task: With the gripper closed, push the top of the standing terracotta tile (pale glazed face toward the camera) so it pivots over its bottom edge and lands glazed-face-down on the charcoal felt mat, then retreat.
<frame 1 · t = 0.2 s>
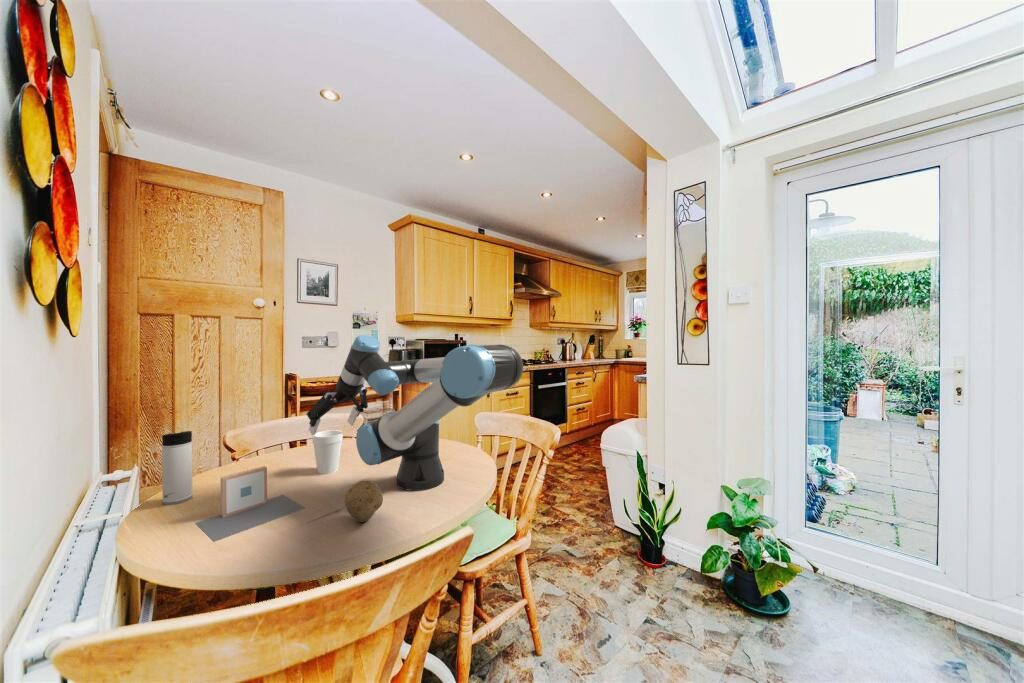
hand: (331, 427, 123), 16 cm above the table, tool tilted 35°, fingers open, 13 cm apart
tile: (244, 509, 97), resting on felt mat
felt mat: (253, 516, 94), on the table
foam cup: (328, 471, 126), on the table
travel mug: (178, 502, 103), on the table
natural sponge: (364, 520, 93), on the table
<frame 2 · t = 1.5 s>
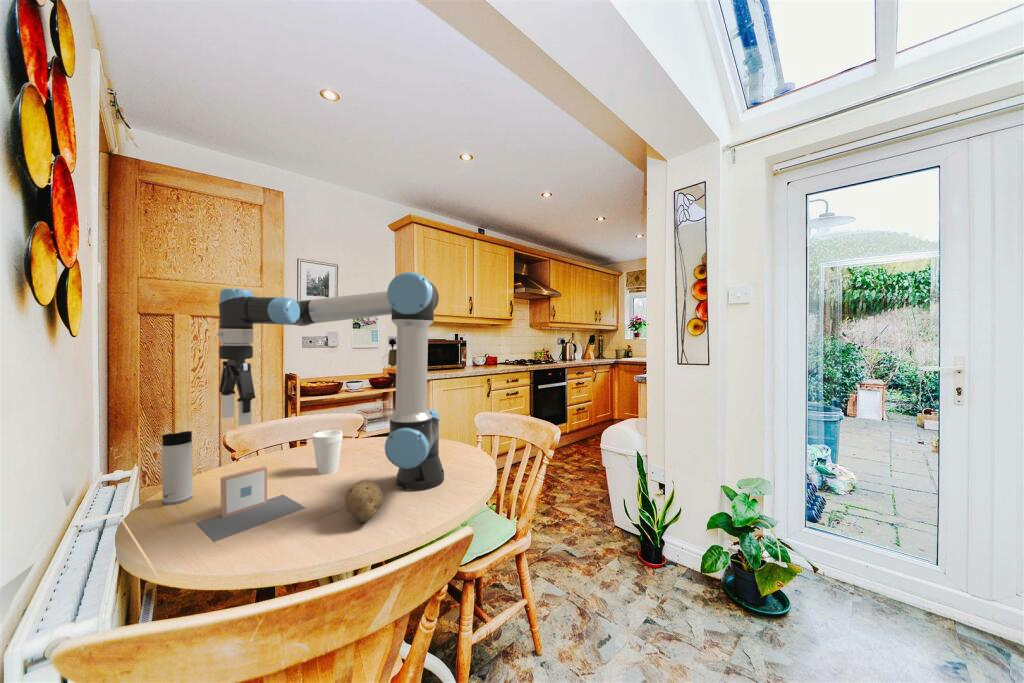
hand: (236, 421, 102), 23 cm above the table, tool pointing down, fingers open, 12 cm apart
nothing on the table moved.
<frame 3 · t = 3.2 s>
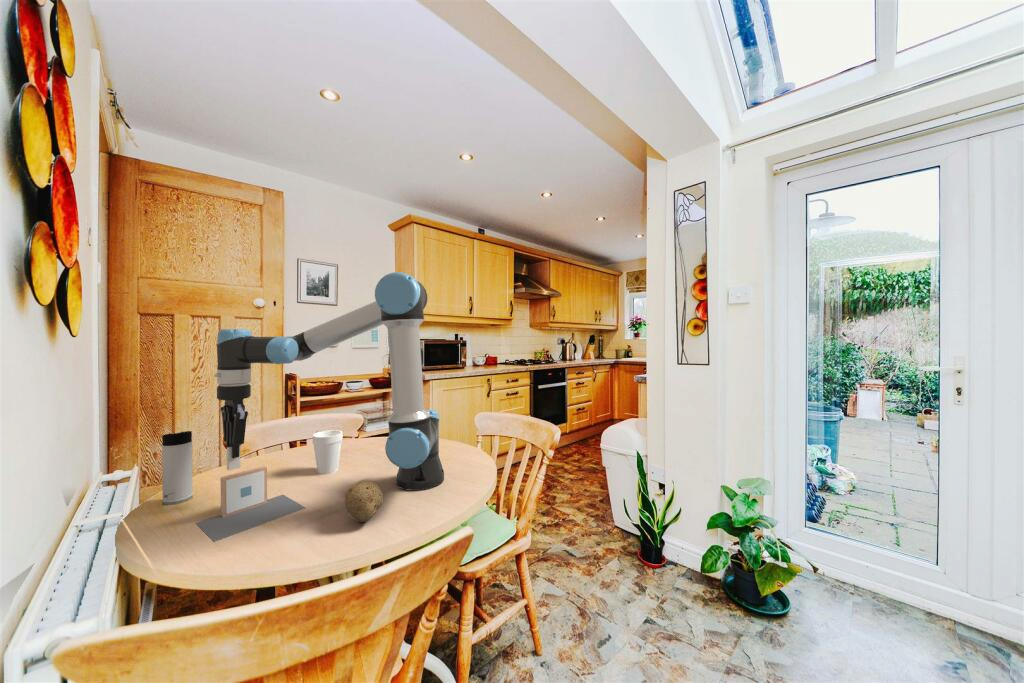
hand: (233, 468, 101), 10 cm above the table, tool pointing down, fingers closed
nothing on the table moved.
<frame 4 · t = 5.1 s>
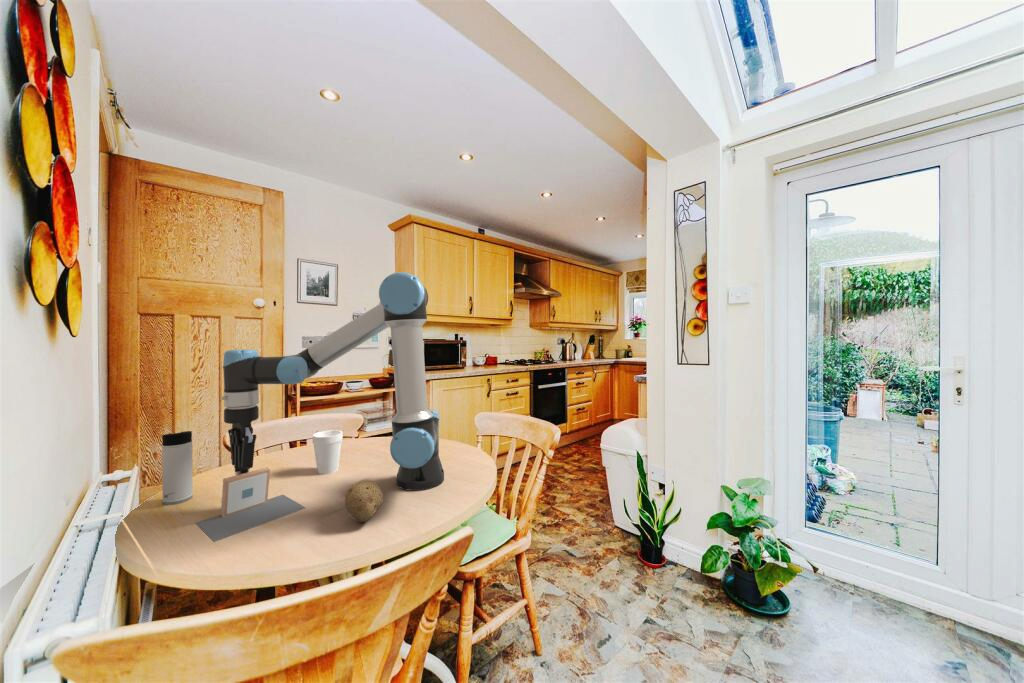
hand: (242, 492, 99), 4 cm above the table, tool pointing down, fingers closed
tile: (244, 508, 97), point 1 cm above the table, tilted 12°, touching felt mat
everything else where it was.
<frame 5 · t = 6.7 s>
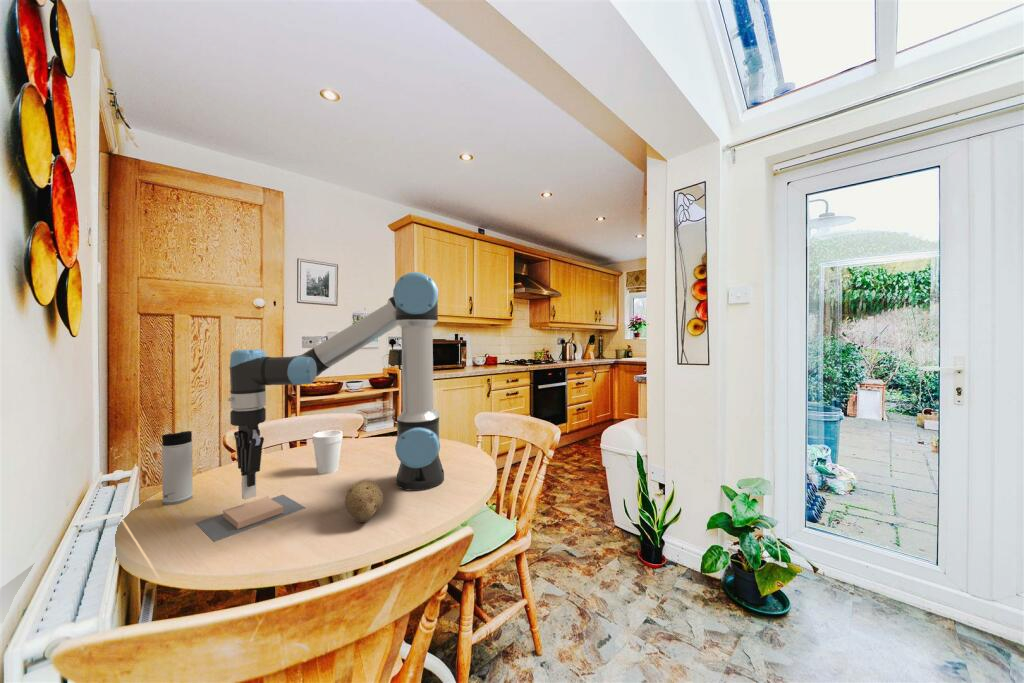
hand: (249, 497, 96), 4 cm above the table, tool pointing down, fingers closed
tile: (246, 506, 97), point 1 cm above the table, tilted 90°, touching felt mat
everything else where it was.
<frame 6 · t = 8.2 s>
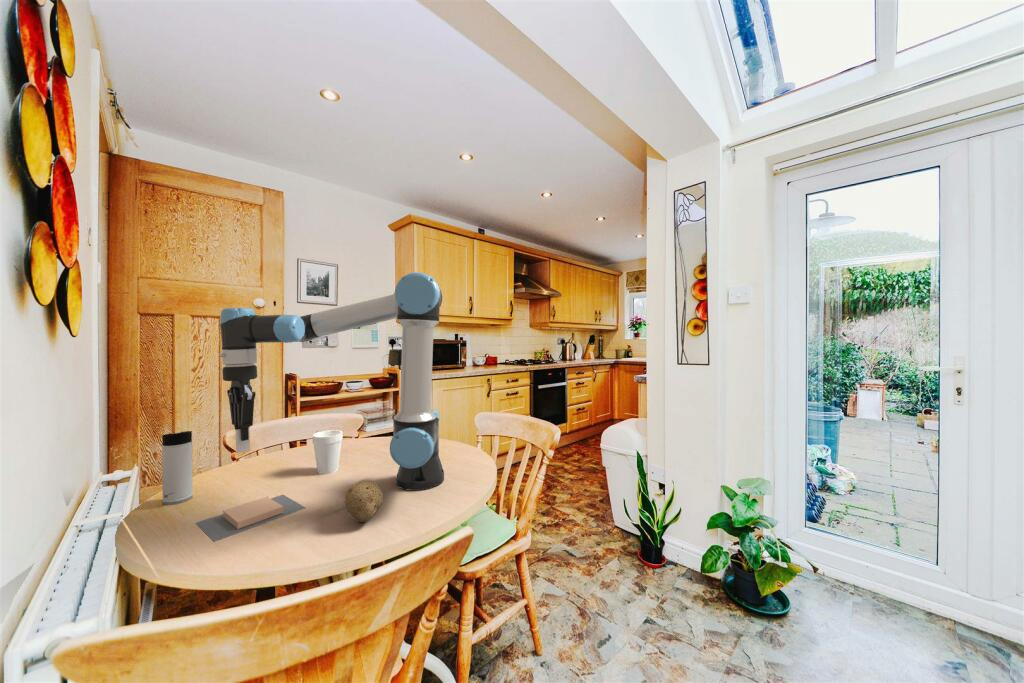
hand: (243, 451, 99), 15 cm above the table, tool pointing down, fingers closed
nothing on the table moved.
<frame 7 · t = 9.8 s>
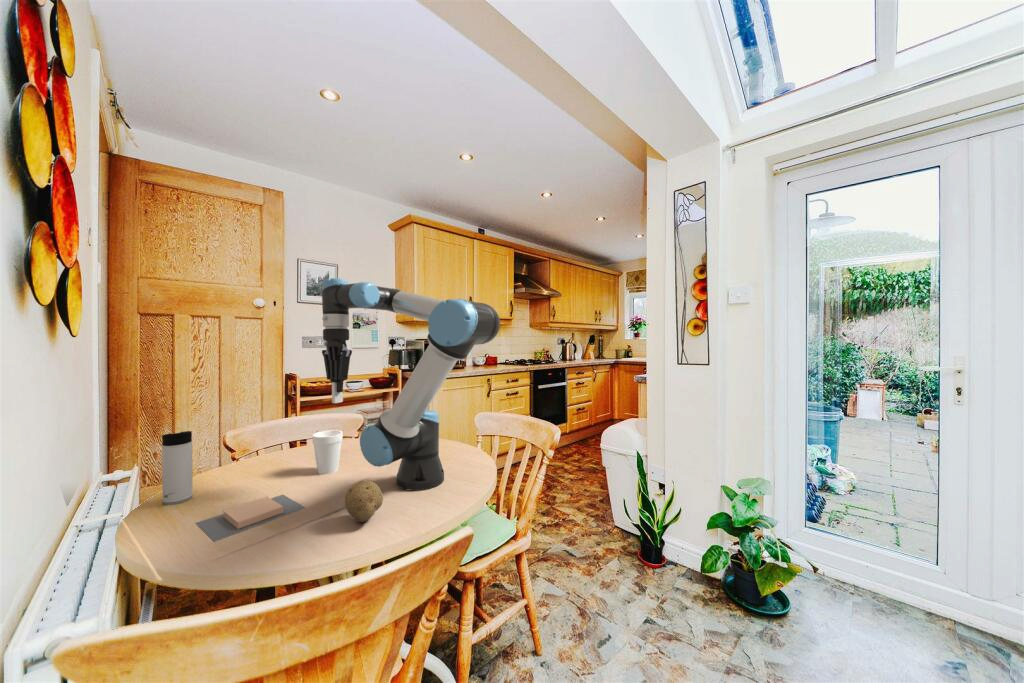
hand: (337, 402, 115), 26 cm above the table, tool pointing down, fingers closed
nothing on the table moved.
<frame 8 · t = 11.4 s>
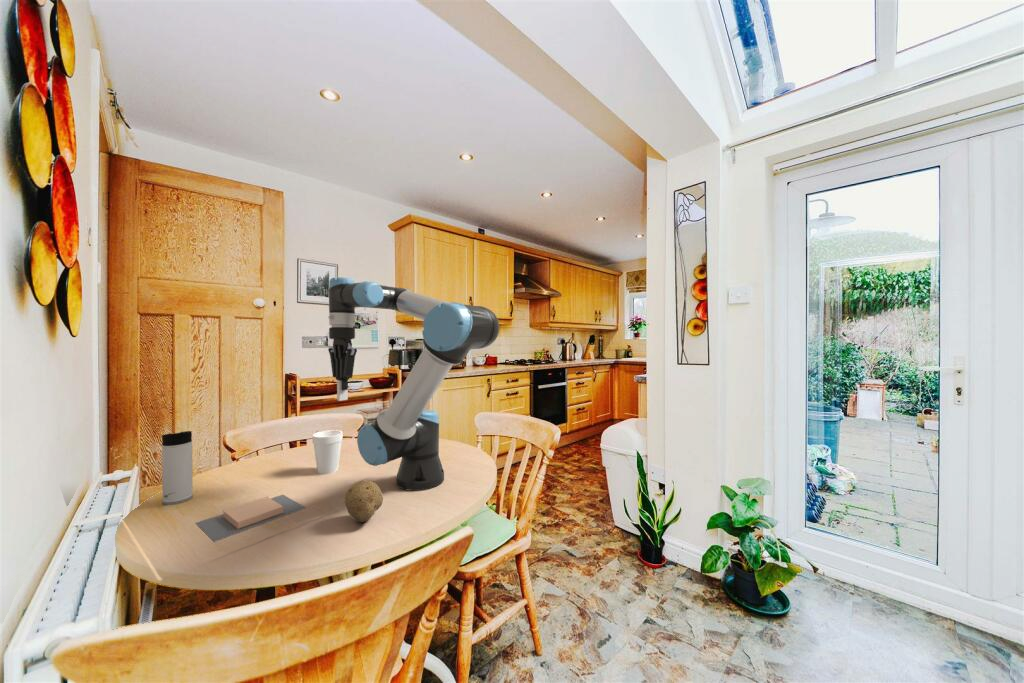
hand: (342, 399, 117), 26 cm above the table, tool pointing down, fingers closed
nothing on the table moved.
at the end: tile tilted 90°; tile inside the target area (4.6 cm from its centre), point 1.4 cm above the table; the gripper is holding nothing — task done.
